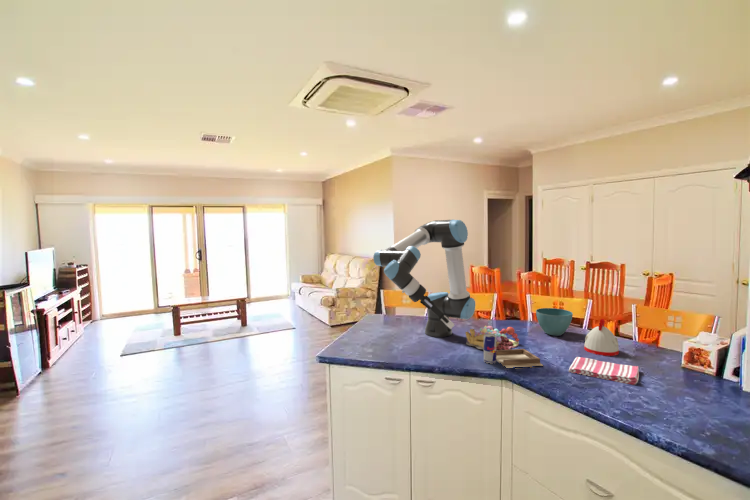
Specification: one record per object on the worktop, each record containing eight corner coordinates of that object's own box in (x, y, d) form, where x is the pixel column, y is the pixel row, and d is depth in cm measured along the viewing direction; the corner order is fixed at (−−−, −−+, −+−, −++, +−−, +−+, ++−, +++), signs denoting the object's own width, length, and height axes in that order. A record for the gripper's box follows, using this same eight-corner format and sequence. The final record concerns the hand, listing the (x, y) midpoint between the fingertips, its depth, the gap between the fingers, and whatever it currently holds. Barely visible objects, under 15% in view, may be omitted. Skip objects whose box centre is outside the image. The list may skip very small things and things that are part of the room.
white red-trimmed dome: (621, 350, 174) (621, 318, 174) (615, 358, 164) (616, 325, 164) (588, 344, 184) (588, 314, 183) (580, 351, 174) (581, 320, 173)
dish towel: (638, 387, 136) (638, 378, 136) (567, 373, 150) (567, 365, 150) (639, 372, 149) (639, 363, 149) (574, 360, 163) (574, 353, 163)
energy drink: (490, 364, 160) (489, 337, 159) (481, 361, 164) (481, 334, 164) (499, 362, 162) (498, 335, 161) (490, 358, 167) (489, 332, 166)
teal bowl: (573, 331, 207) (573, 309, 206) (571, 340, 191) (571, 316, 190) (538, 327, 216) (538, 306, 215) (533, 335, 200) (533, 313, 200)
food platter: (502, 356, 171) (502, 336, 170) (457, 346, 187) (457, 328, 187) (523, 343, 189) (523, 325, 189) (481, 334, 205) (481, 318, 205)
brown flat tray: (489, 354, 172) (489, 349, 172) (521, 352, 174) (521, 347, 174) (506, 369, 155) (506, 362, 154) (542, 366, 156) (542, 360, 156)
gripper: (405, 293, 164) (442, 328, 166) (411, 299, 151) (451, 337, 153) (416, 281, 164) (453, 316, 167) (423, 285, 151) (463, 324, 154)
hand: (452, 326), depth 160 cm, fingers closed
